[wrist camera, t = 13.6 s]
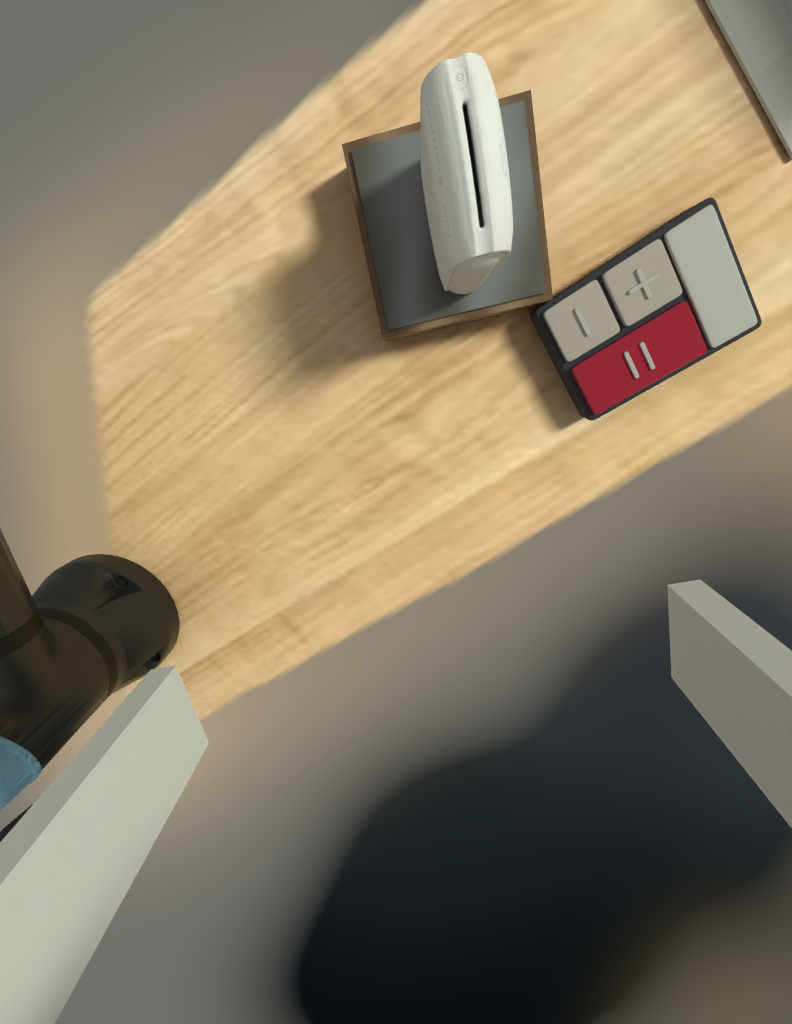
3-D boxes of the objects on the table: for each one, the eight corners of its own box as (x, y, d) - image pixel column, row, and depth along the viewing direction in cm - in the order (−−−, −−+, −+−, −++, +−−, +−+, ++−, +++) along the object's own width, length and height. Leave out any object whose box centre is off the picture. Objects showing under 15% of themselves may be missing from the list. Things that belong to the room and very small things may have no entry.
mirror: (386, 341, 42) (383, 339, 38) (349, 165, 38) (341, 142, 34) (540, 305, 41) (553, 298, 37) (519, 118, 37) (531, 87, 33)
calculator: (534, 310, 38) (720, 190, 34) (526, 314, 42) (690, 207, 38) (592, 424, 41) (770, 324, 37) (579, 417, 45) (738, 326, 41)
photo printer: (414, 153, 34) (411, 44, 22) (471, 136, 34) (499, 16, 22) (440, 301, 37) (450, 273, 25) (493, 287, 37) (528, 253, 25)
